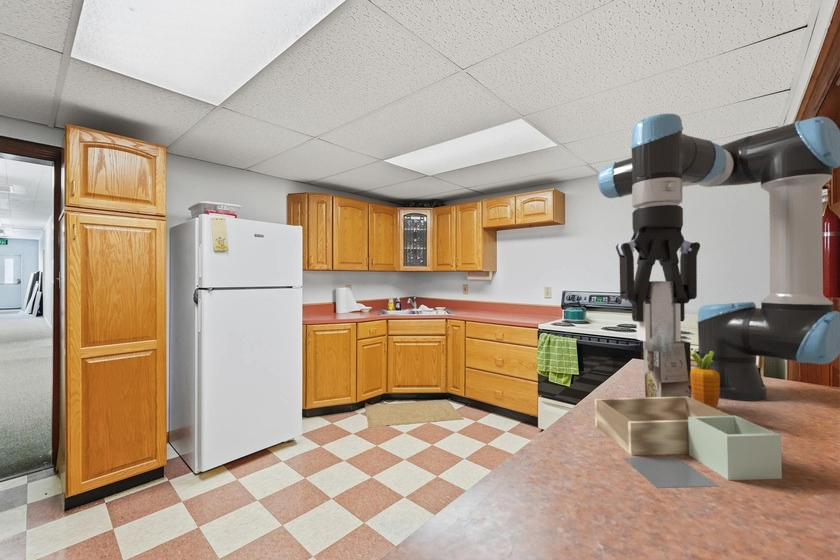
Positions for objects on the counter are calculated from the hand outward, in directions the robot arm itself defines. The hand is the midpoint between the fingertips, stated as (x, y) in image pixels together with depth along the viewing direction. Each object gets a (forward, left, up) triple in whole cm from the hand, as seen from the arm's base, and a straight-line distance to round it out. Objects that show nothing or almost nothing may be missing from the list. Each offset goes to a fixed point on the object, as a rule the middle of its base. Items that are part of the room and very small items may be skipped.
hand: (658, 340), depth 66 cm
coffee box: (-15, -21, -20) cm, 32 cm away
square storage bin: (-7, +7, -20) cm, 22 cm away
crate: (-3, -4, -20) cm, 20 cm away
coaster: (+4, +8, -20) cm, 21 cm away
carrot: (-17, -12, -20) cm, 29 cm away
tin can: (0, 0, -2) cm, 2 cm away
